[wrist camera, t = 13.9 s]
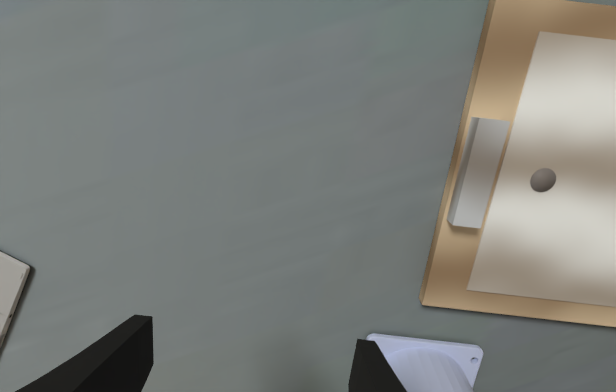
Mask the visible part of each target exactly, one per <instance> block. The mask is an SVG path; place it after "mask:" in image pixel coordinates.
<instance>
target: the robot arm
mask: <svg viewBox="0 0 616 392" xmlns="http://www.w3.org/2000/svg"><path fill="white" fill-rule="evenodd" d="M474 357H475V358H474ZM482 357H483V351H482V349H481V348H480V347H479V346H477V345H471V344H462V343H454V342H445V341H436V340H427V339H418V338H410V337H401V336H392V335H383V334H370V335H368V336H367V338H366V340H362V339H357V344H356V349H355V354H354V359H353V364H352V369H351V374H350V379H349V384H348V385H349V392H474V391H473V389H472V388H473V385H474V382H475V379H476V376H477V373H478V369H479V366H480V363H481V360H482ZM472 358H474V359H472ZM152 366H153V324H152V316H142V315H134V316H132V317H131V318H129V319H128V320H126V321H125V322H123V323H122V324H120V325H119V326H118V327H116V328H115V329H113V330H112V331H111V332H109V333H108V334H106V335H105V336H103V337H102V338H101V339H99V340H98V341H96V342H95V343H93V344H92V345H90V346H89V347H87V348H86V349H84V350H83V351H82V352H80V353H79V354H77V355H75V356H74V357H72V358H71V359H69V360H68V361H66V362H64V363H63V364H61V365H60V366H58V367H56V368H55V369H53V370H52V371H50V372H49V373H47V374H45V375H44V376H42V377H40V378H39V379H37V380H35V381H33V382H32V383H30V384H28V385H26V386H25V387H23V388H21V389H19V390H17V391H15V392H141V391H142V389H143V386H144V384H145V382H146V380H147V378H148V375H149V373H150V371H151V368H152Z"/></svg>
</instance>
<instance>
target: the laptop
mask: <svg viewBox="0 0 616 392" xmlns="http://www.w3.org/2000/svg"><path fill="white" fill-rule="evenodd" d="M29 270H30V267H29V266H28V265H27V264H25V263H23V262H21V261H19V260H17V259H14V258H12V257H10V256H8V255H6V254H4V253H2V252H0V348H1V345H2V343H3V340H4V337H5V335H6V332H7V330H8V327H9V324H10V322H11V319H12V316H13V314H14V311H15V308H16V306H17V303H18V300H19V298H20V295H21V292H22V289H23V287H24V284H25V281H26V279H27V276H28V273H29Z"/></svg>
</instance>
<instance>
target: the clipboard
mask: <svg viewBox="0 0 616 392" xmlns="http://www.w3.org/2000/svg"><path fill="white" fill-rule="evenodd" d="M419 299H420V301H421V303H422V305H427V306H436V307H444V308H453V309H462V310H471V311H480V312H488V313H497V314H506V315H515V316H523V317H532V318H541V319H550V320H559V321H567V322H576V323H585V324H594V325H602V326H611V327H616V6H608V5H599V4H591V3H582V2H574V1H565V0H489V4H488V8H487V12H486V16H485V20H484V25H483V29H482V33H481V37H480V42H479V46H478V50H477V54H476V58H475V63H474V67H473V71H472V75H471V80H470V84H469V88H468V92H467V96H466V101H465V105H464V109H463V113H462V118H461V122H460V126H459V130H458V134H457V139H456V143H455V147H454V151H453V156H452V160H451V164H450V168H449V172H448V177H447V181H446V185H445V189H444V194H443V198H442V202H441V206H440V210H439V215H438V219H437V223H436V227H435V232H434V236H433V240H432V244H431V248H430V253H429V257H428V261H427V265H426V270H425V274H424V278H423V282H422V286H421V291H420V295H419Z"/></svg>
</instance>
